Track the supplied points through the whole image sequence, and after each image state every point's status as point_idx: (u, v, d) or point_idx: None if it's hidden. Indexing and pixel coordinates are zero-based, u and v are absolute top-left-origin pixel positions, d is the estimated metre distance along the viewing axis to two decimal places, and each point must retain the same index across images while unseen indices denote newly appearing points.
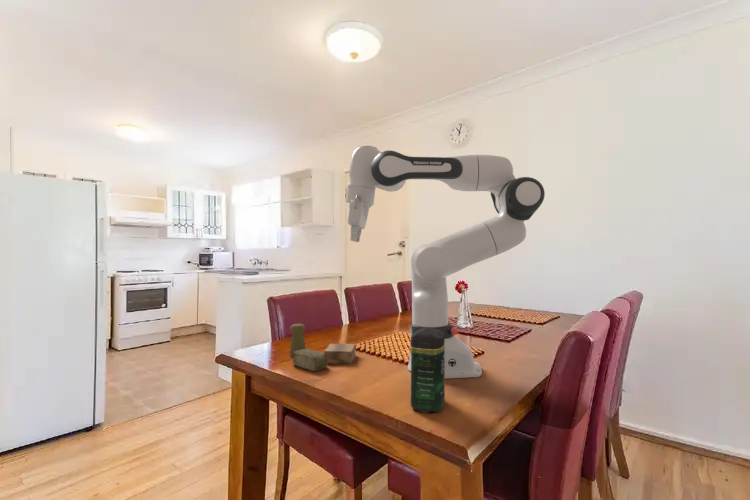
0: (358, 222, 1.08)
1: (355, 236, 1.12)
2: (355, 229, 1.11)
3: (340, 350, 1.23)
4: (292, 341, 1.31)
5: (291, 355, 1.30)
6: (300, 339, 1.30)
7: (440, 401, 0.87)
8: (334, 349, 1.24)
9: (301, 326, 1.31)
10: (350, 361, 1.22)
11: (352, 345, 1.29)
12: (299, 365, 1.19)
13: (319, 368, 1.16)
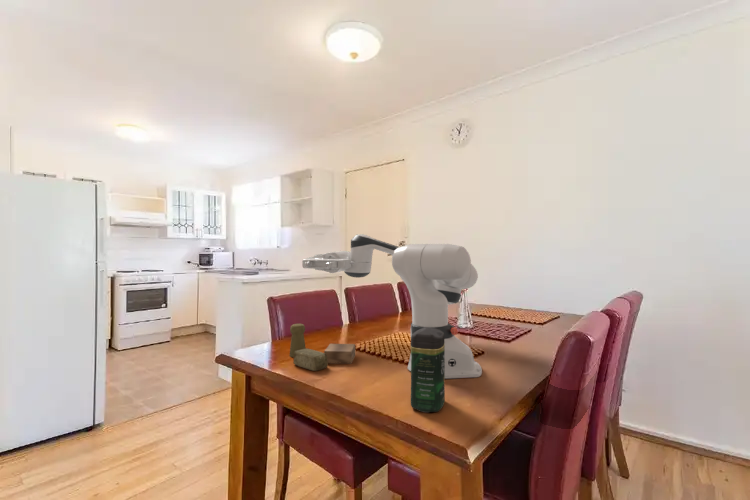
0: (346, 267, 1.46)
1: (331, 266, 1.43)
2: (336, 265, 1.45)
3: (340, 350, 1.23)
4: (292, 341, 1.31)
5: (291, 355, 1.30)
6: (300, 339, 1.30)
7: (440, 401, 0.87)
8: (334, 349, 1.24)
9: (301, 326, 1.31)
10: (350, 361, 1.22)
11: (352, 345, 1.29)
12: (300, 365, 1.19)
13: (319, 368, 1.16)
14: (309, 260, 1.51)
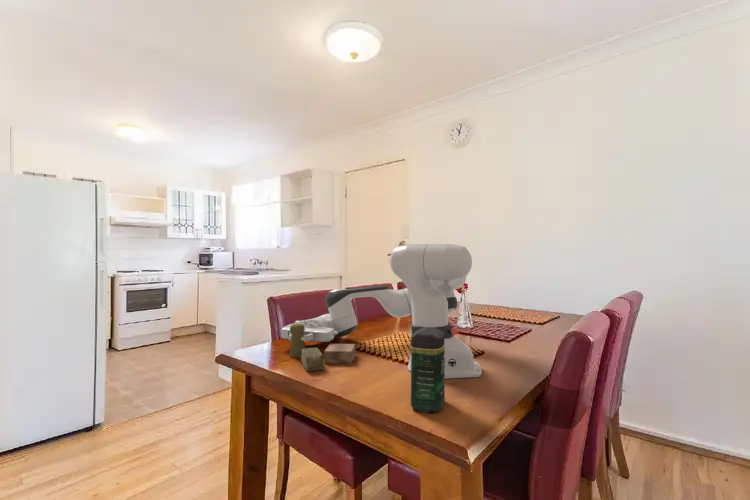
0: (328, 340, 1.33)
1: (306, 339, 1.32)
2: (312, 338, 1.33)
3: (340, 350, 1.23)
4: (292, 341, 1.31)
5: (291, 355, 1.30)
6: (299, 339, 1.30)
7: (440, 401, 0.87)
8: (334, 349, 1.24)
9: (301, 326, 1.31)
10: (350, 361, 1.22)
11: (352, 345, 1.29)
12: None
13: (313, 369, 1.15)
14: (288, 330, 1.38)
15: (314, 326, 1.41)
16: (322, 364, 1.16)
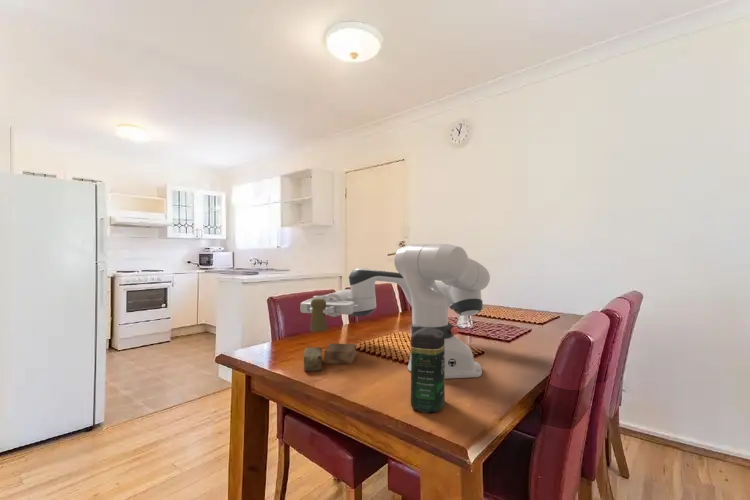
0: (350, 313, 1.31)
1: (328, 312, 1.29)
2: (333, 311, 1.30)
3: (340, 350, 1.23)
4: (313, 315, 1.27)
5: (312, 330, 1.27)
6: (321, 313, 1.28)
7: (440, 401, 0.87)
8: (334, 349, 1.24)
9: (323, 300, 1.28)
10: (350, 361, 1.22)
11: (352, 345, 1.29)
12: None
13: (310, 369, 1.15)
14: (308, 304, 1.35)
15: (334, 300, 1.38)
16: (320, 365, 1.15)
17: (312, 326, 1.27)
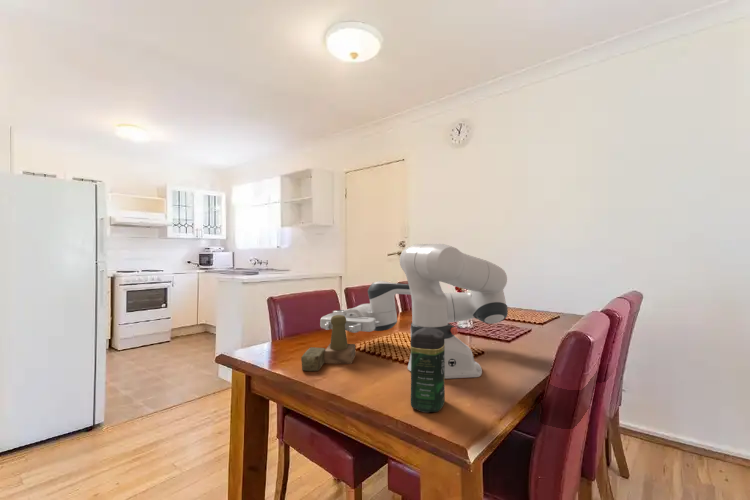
0: (371, 330, 1.28)
1: (355, 329, 1.25)
2: (360, 328, 1.27)
3: (340, 350, 1.23)
4: (333, 333, 1.25)
5: (333, 348, 1.24)
6: (342, 331, 1.25)
7: (440, 401, 0.87)
8: None
9: (343, 317, 1.25)
10: (350, 361, 1.22)
11: (352, 345, 1.29)
12: None
13: (307, 369, 1.15)
14: (328, 320, 1.32)
15: (354, 316, 1.35)
16: (316, 365, 1.15)
17: (332, 344, 1.25)
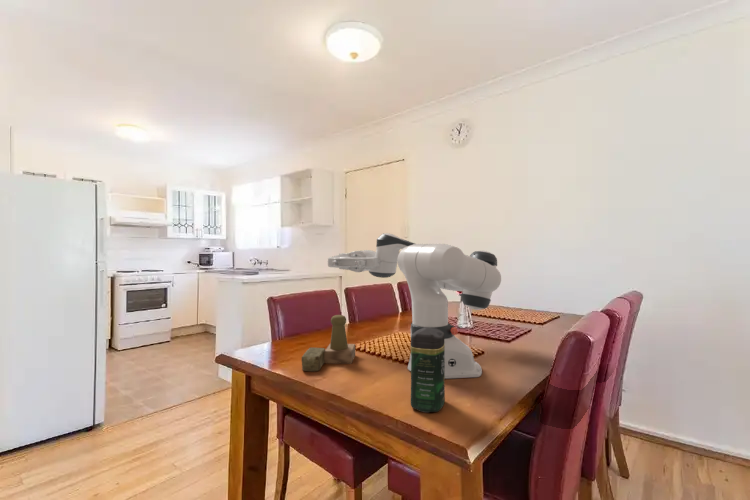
0: (374, 266, 1.41)
1: (359, 264, 1.39)
2: (364, 263, 1.40)
3: (340, 350, 1.23)
4: (333, 333, 1.25)
5: (333, 348, 1.24)
6: (342, 331, 1.25)
7: (440, 401, 0.87)
8: None
9: (343, 317, 1.25)
10: (350, 361, 1.22)
11: (352, 345, 1.29)
12: None
13: (307, 369, 1.15)
14: (335, 258, 1.46)
15: (359, 256, 1.49)
16: (317, 365, 1.15)
17: (332, 344, 1.25)
